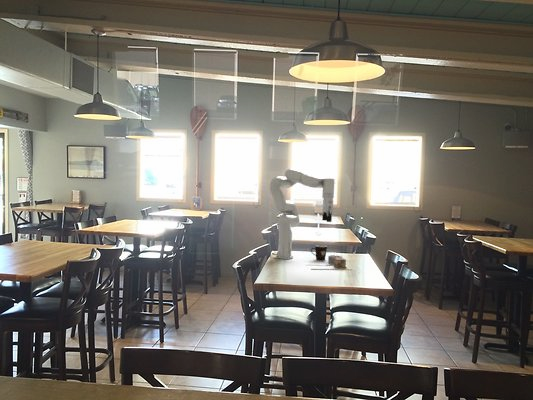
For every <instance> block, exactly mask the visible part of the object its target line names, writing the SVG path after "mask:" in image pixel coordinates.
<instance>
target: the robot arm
mask: <svg viewBox="0 0 533 400" xmlns="http://www.w3.org/2000/svg"><path fill="white" fill-rule="evenodd" d="M296 184H301V185H303V186H306V187H309V188H316V189H322V196H321V197H322V198H323V199H322V219H321V220H322V221H326V222H327V223H332V219H333V217H332V216H333V213H334V197H335V195H334V193H335V178H334V177H330V176H329V177H326V176H325V177H324V176H313V175H308V173H307V172H306V171H303V170H301V169H300V168H288V169H286V170H285V172H284V176H275V177H272V178H271V180H270V183H269V190H270V193H271V195H272V198H273V201H274V202H273V203H274V205H275V209H276V211H277V213H278V214H282V215H280V216H279V217H278V220H277V223H278V247H277V248H278V249H277V251H275V252H274V251H271V255H272V256H273V255H274V256H275V258H277V259H280V260H291V259H293V258H294V256H293V255H292V246H293V245H292V244H293V243H292V241H293V231H292V228H295V227H298V226H299V225H300V216H299V213H298V210H297V206H296V205H295V203H294V202H293V201H291V200H287V199H286V196H285V193H284V192H283V190H282V189H290V188H292V187H294V185H296Z"/></svg>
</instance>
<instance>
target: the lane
mask: <svg viewBox="0 0 533 400" xmlns="http://www.w3.org/2000/svg"><path fill="white" fill-rule="evenodd" d="M327 266H332V267H334V265H333V264H327ZM310 270H313V271H315V270H317V271H318V270H319V271H321V270H322V271H323V270H325V271H326V270H327V271H340V270H341V271H352V269H351V268H350V267H348V266H346V268H310Z"/></svg>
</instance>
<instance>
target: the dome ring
mask: <svg viewBox="0 0 533 400" xmlns="http://www.w3.org/2000/svg"><path fill="white" fill-rule="evenodd" d="M333 255H334V254H330V255H328V260H327V264H328V265H334V258H343V256H341V255H337V256H338V257H332V256H333Z"/></svg>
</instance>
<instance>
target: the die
mask: <svg viewBox="0 0 533 400" xmlns="http://www.w3.org/2000/svg"><path fill="white" fill-rule="evenodd" d="M346 267H347V259H345V258H343V257H342V258H334V266H333V268H334V269H347V268H346Z"/></svg>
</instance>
